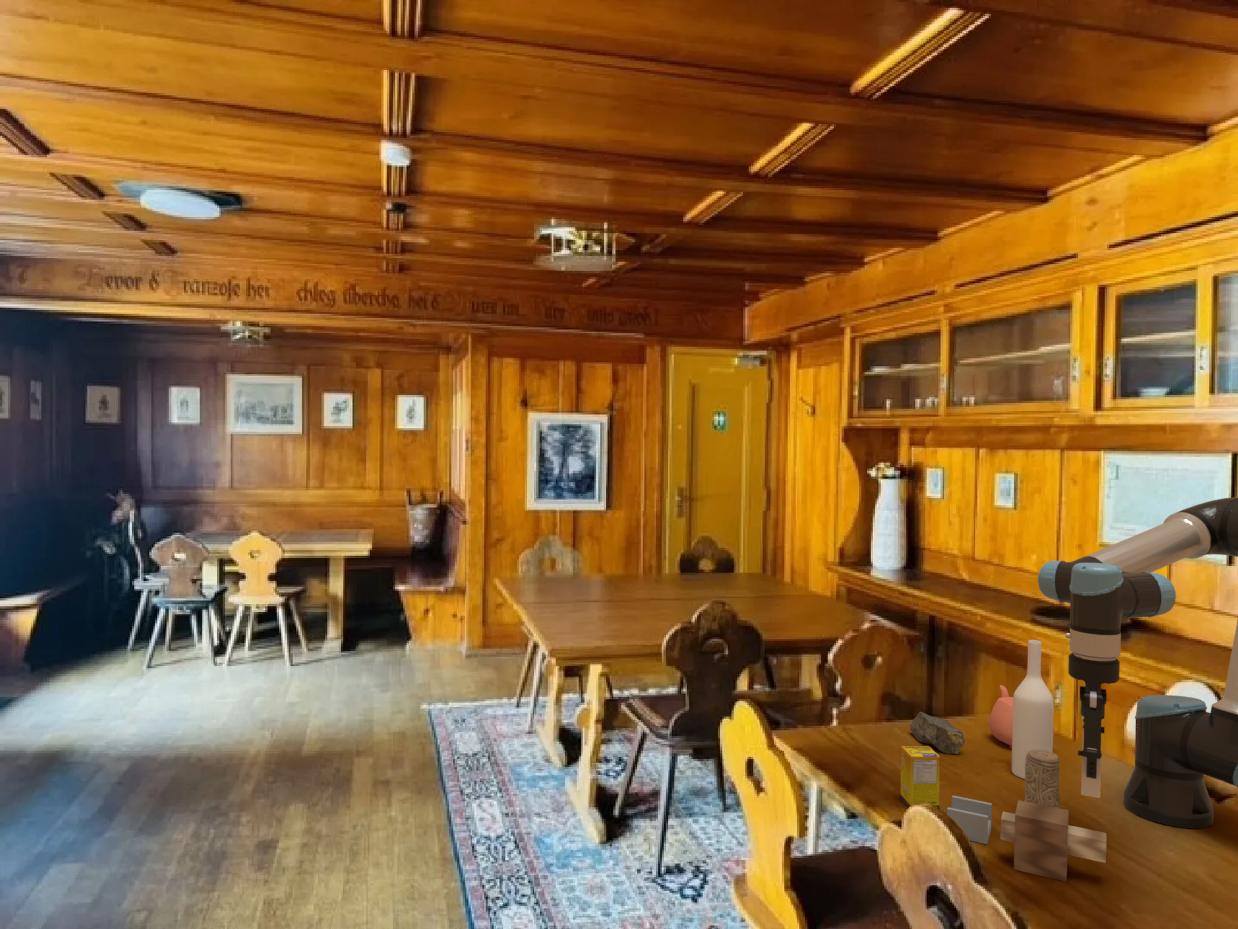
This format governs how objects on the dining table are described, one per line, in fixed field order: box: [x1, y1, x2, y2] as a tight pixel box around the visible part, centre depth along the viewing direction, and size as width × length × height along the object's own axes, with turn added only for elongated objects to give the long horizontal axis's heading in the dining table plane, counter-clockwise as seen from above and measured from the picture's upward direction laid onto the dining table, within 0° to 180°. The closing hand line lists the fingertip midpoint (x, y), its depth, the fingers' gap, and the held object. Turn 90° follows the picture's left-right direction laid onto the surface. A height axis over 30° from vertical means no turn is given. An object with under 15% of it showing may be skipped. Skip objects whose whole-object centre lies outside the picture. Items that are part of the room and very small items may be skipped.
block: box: [1013, 799, 1070, 882], centre depth 145 cm, size 8×7×10 cm
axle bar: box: [1000, 811, 1107, 864], centre depth 144 cm, size 16×4×4 cm, turn 60°
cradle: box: [946, 795, 993, 845], centre depth 158 cm, size 7×7×5 cm
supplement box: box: [900, 745, 941, 809], centre depth 171 cm, size 6×6×11 cm
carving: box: [1024, 750, 1061, 808], centre depth 167 cm, size 6×8×12 cm
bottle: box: [1011, 639, 1054, 780], centre depth 186 cm, size 8×8×30 cm
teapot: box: [988, 684, 1055, 750], centre depth 207 cm, size 13×20×12 cm, turn 2°
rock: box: [909, 711, 966, 755], centre depth 205 cm, size 17×7×10 cm
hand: (1090, 782), depth 142 cm, fingers open, 12 cm apart
